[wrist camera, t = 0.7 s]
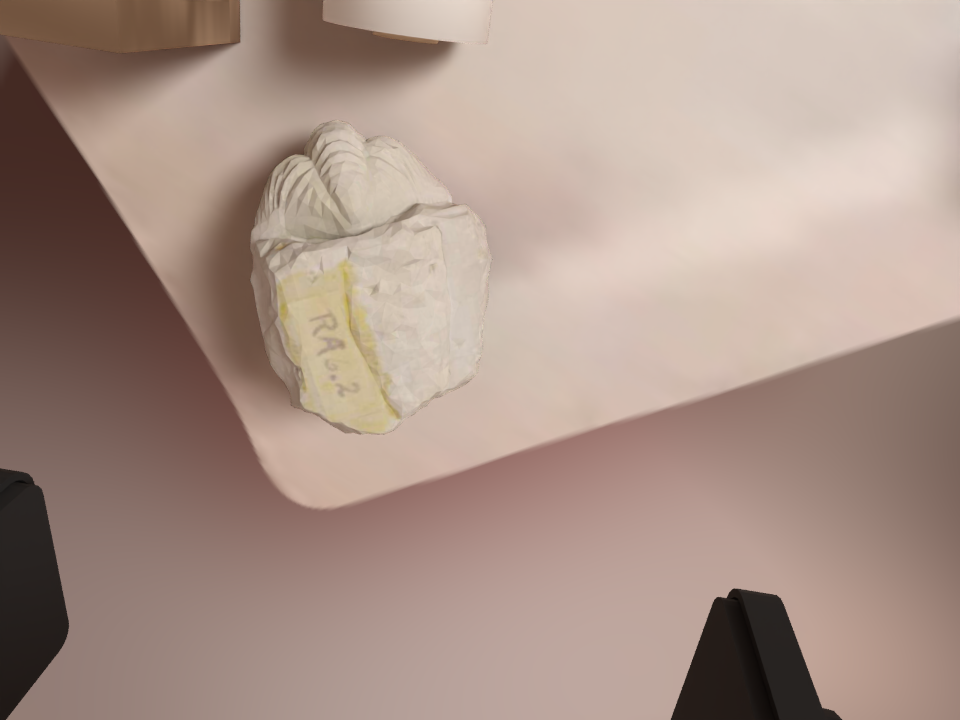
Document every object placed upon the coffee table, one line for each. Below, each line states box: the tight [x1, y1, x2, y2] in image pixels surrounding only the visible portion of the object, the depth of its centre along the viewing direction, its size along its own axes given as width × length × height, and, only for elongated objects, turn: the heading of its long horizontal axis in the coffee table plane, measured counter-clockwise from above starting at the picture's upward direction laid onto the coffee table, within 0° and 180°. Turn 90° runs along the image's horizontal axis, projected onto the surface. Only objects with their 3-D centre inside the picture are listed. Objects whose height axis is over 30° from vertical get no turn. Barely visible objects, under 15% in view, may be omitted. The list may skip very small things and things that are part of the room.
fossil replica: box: [250, 120, 493, 435], centre depth 29 cm, size 12×8×10 cm
